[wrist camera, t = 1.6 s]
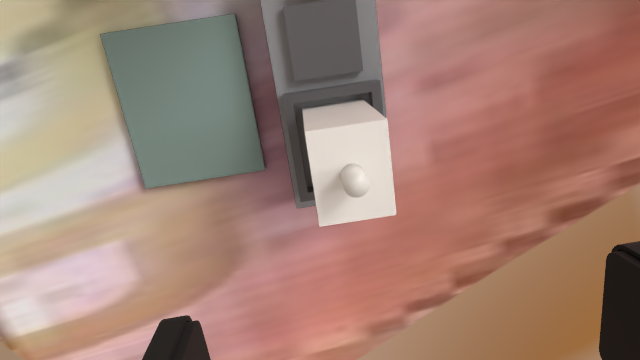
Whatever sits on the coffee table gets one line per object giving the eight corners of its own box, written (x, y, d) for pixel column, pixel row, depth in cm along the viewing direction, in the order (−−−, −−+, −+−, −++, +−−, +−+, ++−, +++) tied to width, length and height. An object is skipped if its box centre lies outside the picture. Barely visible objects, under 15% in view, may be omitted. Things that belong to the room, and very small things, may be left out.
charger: (361, 98, 27) (395, 125, 18) (369, 170, 29) (404, 227, 20) (302, 108, 27) (305, 139, 18) (313, 178, 29) (321, 240, 20)
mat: (235, 14, 28) (234, 13, 27) (265, 167, 31) (264, 170, 31) (103, 34, 28) (100, 34, 27) (148, 186, 31) (145, 188, 31)
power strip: (362, -47, 27) (373, -63, 23) (384, 180, 32) (397, 199, 28) (257, -31, 27) (251, -44, 23) (296, 194, 32) (296, 215, 28)
